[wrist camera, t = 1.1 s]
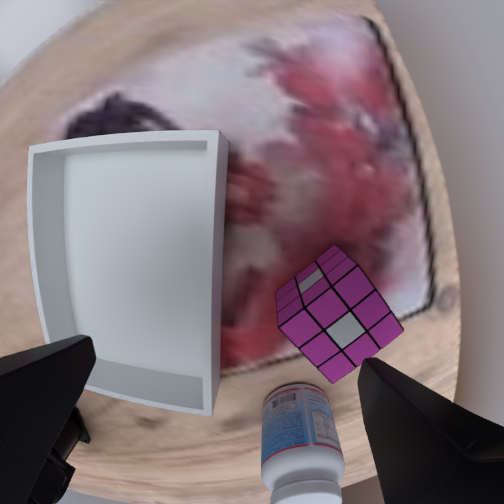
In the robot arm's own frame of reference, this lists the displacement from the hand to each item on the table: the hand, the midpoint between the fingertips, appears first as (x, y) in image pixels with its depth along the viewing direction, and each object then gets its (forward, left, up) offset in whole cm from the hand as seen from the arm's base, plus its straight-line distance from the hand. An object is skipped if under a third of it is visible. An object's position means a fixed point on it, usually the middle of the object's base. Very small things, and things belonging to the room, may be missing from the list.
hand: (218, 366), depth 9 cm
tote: (-1, +9, -13) cm, 16 cm away
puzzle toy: (-2, -6, -13) cm, 15 cm away
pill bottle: (-13, -5, -13) cm, 19 cm away
